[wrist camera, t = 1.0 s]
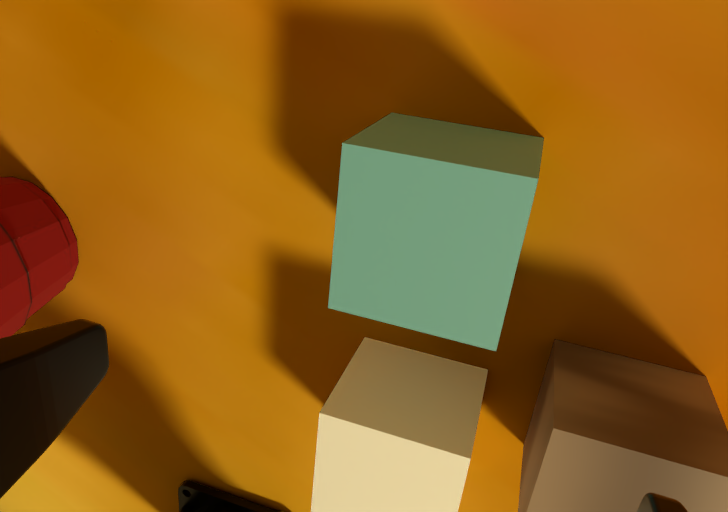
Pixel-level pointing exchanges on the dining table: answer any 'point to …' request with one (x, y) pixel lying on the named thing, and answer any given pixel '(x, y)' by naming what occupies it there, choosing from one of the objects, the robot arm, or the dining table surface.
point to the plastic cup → (31, 252)
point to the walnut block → (622, 436)
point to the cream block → (397, 432)
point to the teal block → (432, 225)
